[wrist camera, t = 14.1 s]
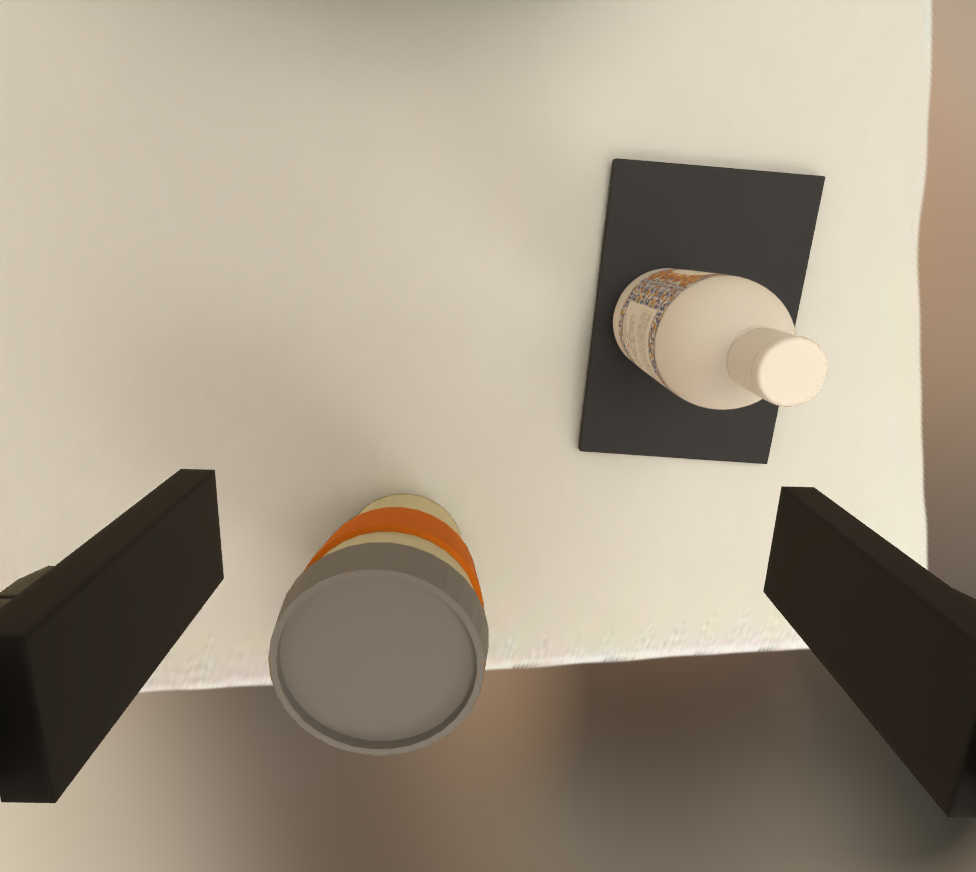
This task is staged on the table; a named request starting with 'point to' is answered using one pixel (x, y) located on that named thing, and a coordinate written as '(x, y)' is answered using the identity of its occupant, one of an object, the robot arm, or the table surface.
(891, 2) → the table surface
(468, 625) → the reusable coffee cup
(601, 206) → the table surface
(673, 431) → the desk mat
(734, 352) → the bath foam
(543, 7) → the table surface
